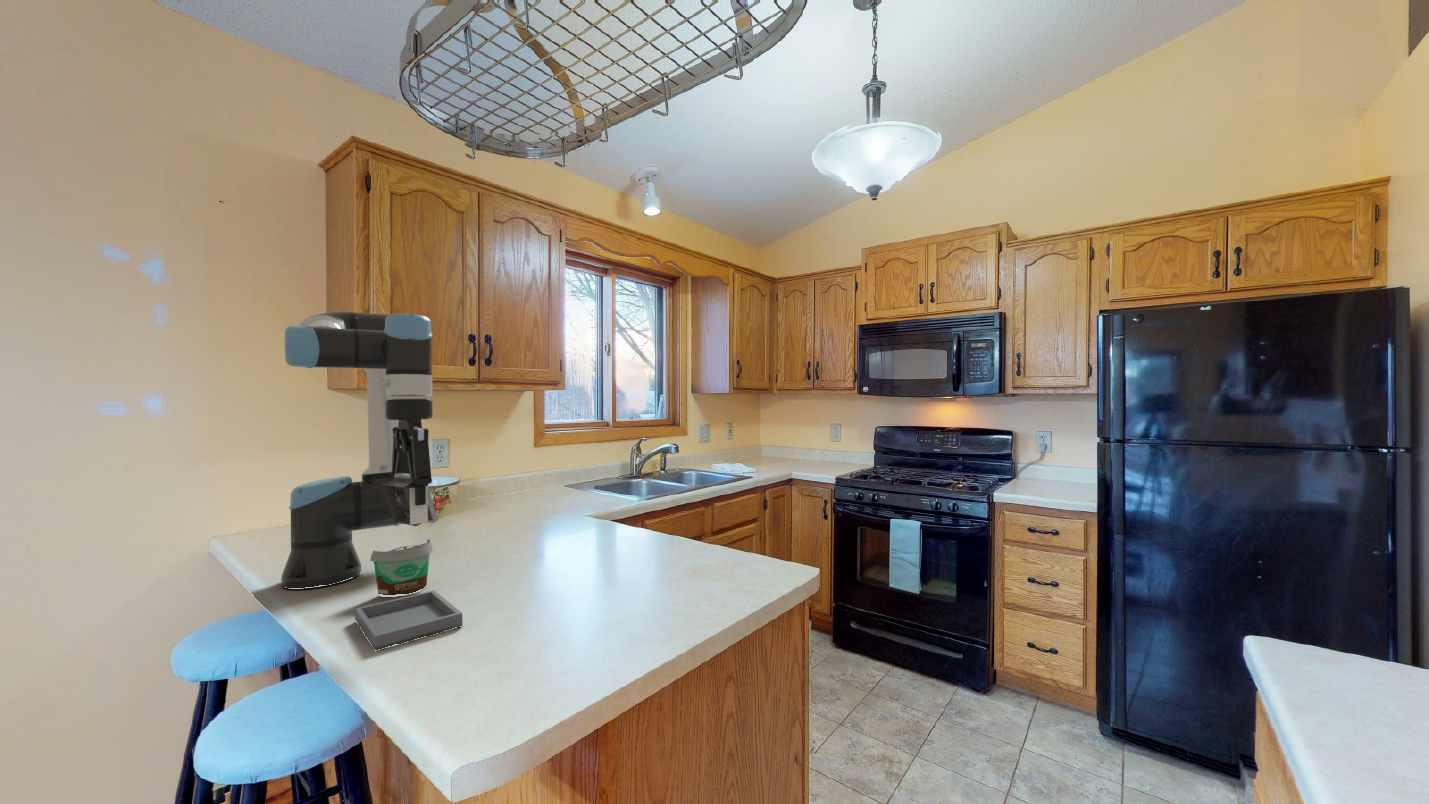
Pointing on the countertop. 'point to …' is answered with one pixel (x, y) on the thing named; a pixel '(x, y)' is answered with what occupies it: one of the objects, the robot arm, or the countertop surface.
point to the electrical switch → (404, 499)
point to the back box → (407, 619)
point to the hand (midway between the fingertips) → (411, 518)
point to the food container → (402, 569)
